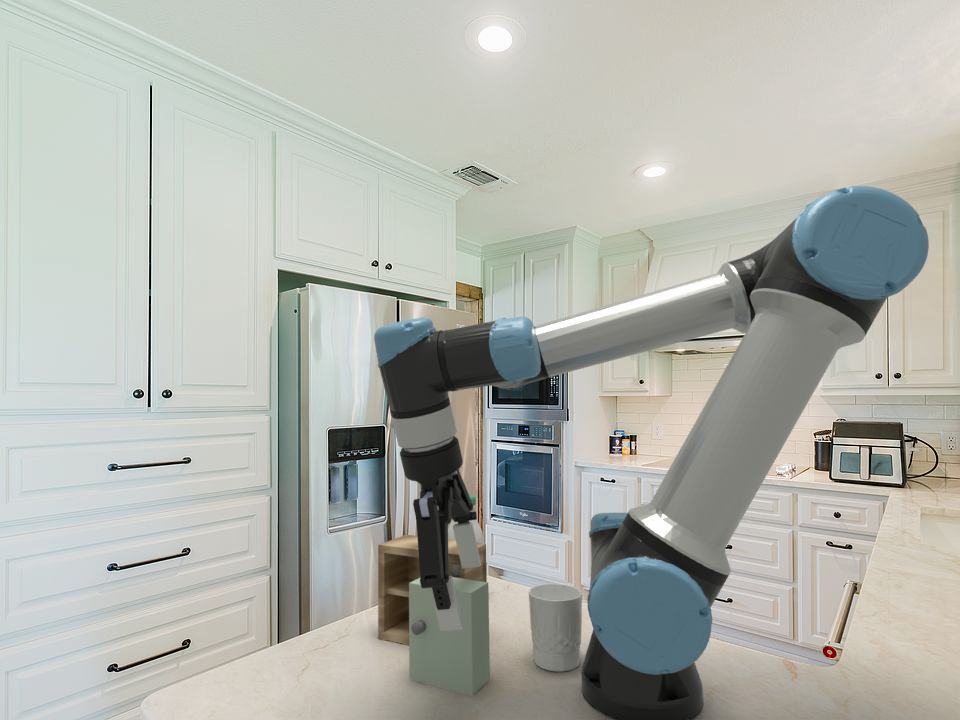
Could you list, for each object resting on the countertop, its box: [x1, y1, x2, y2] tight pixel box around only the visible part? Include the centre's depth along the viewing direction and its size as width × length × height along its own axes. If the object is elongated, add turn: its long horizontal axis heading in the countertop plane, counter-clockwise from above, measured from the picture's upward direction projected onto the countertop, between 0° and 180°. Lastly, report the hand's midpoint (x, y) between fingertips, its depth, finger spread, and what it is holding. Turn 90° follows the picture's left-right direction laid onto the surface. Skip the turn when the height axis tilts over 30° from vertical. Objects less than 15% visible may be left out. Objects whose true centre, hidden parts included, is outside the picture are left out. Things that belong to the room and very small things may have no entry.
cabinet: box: [377, 534, 488, 646], centre depth 91 cm, size 16×9×15 cm, turn 62°
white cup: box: [528, 583, 583, 672], centre depth 82 cm, size 8×8×10 cm
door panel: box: [408, 577, 491, 697], centre depth 77 cm, size 10×6×13 cm, turn 62°
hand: (462, 594), depth 73 cm, fingers open, 13 cm apart
